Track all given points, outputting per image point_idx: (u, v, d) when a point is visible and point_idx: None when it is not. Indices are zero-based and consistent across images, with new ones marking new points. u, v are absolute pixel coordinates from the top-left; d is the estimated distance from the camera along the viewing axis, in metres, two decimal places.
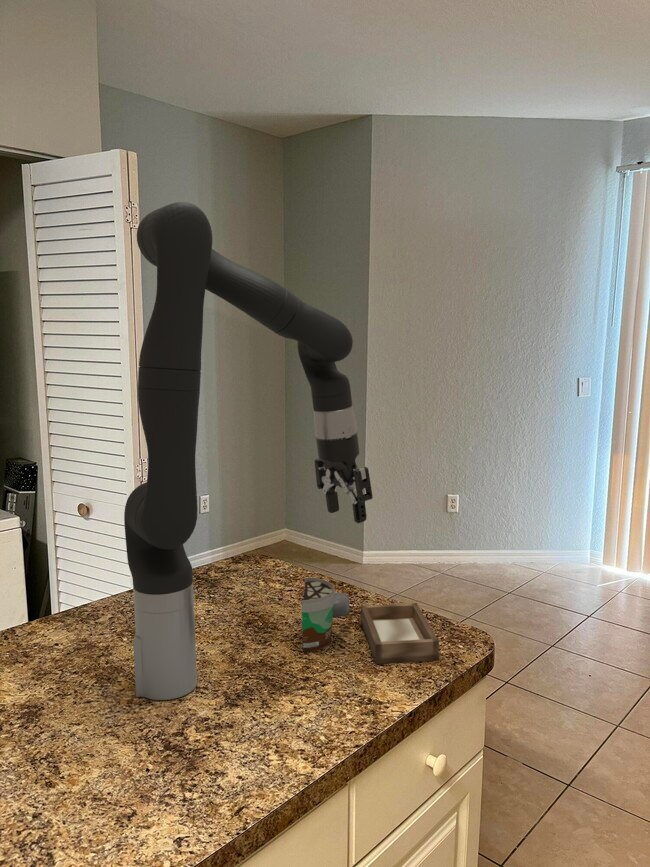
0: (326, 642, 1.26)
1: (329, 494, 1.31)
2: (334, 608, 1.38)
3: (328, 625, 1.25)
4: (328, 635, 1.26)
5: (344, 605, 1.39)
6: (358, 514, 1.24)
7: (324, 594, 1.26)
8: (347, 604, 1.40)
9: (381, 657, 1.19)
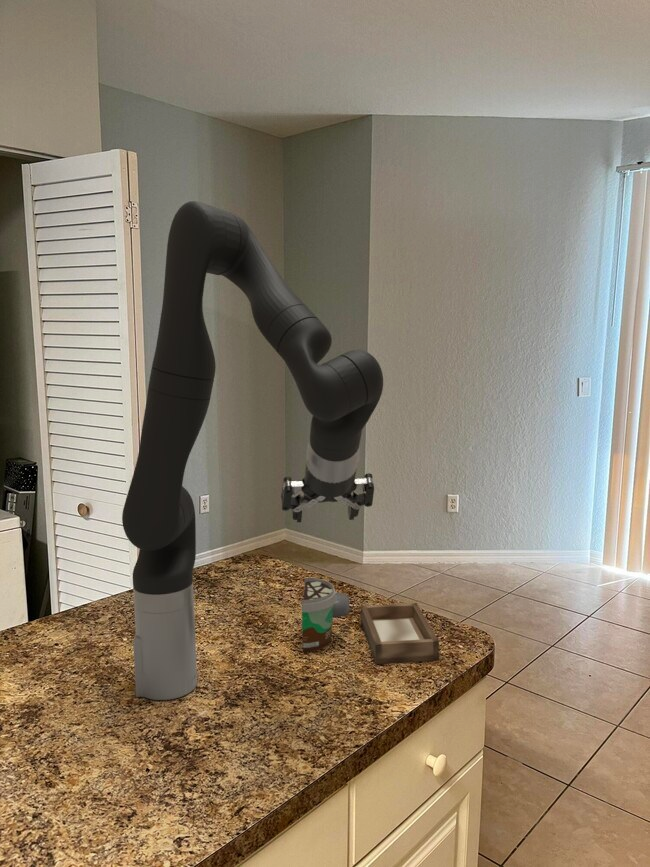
0: (326, 642, 1.26)
1: None
2: (334, 608, 1.38)
3: (328, 625, 1.25)
4: (328, 635, 1.26)
5: (344, 605, 1.39)
6: None
7: (324, 594, 1.26)
8: (347, 604, 1.40)
9: (381, 657, 1.19)
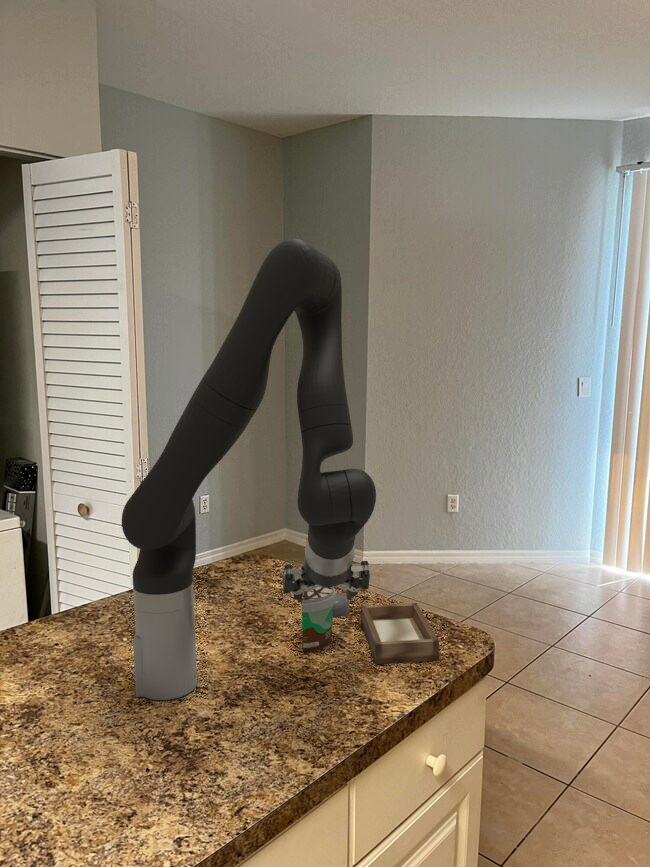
0: (326, 642, 1.26)
1: None
2: (334, 608, 1.38)
3: (328, 625, 1.25)
4: (328, 635, 1.26)
5: (344, 605, 1.39)
6: None
7: (324, 594, 1.26)
8: (347, 604, 1.40)
9: (381, 657, 1.19)
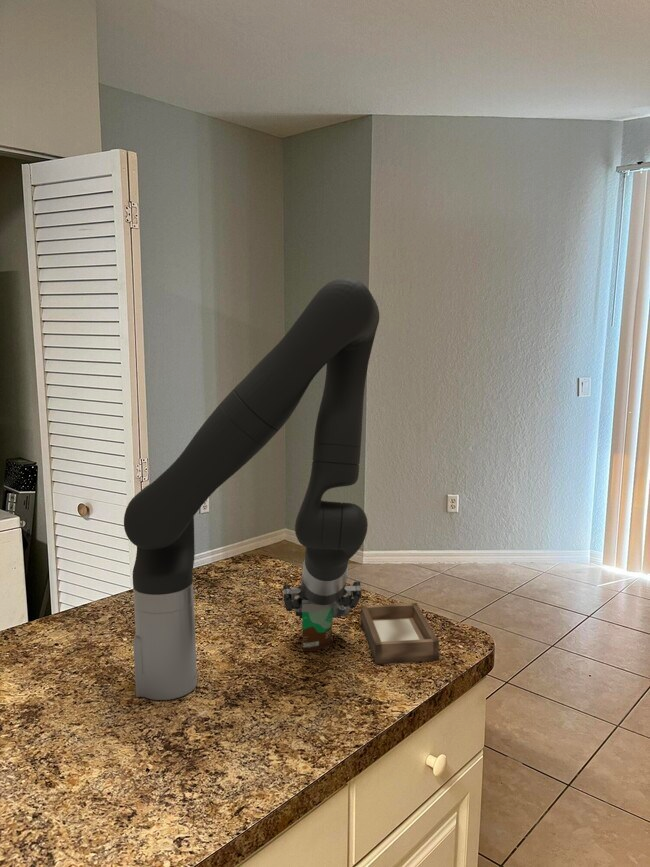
0: (326, 642, 1.26)
1: None
2: (334, 608, 1.38)
3: (328, 625, 1.25)
4: (328, 635, 1.26)
5: None
6: None
7: None
8: None
9: (381, 657, 1.19)
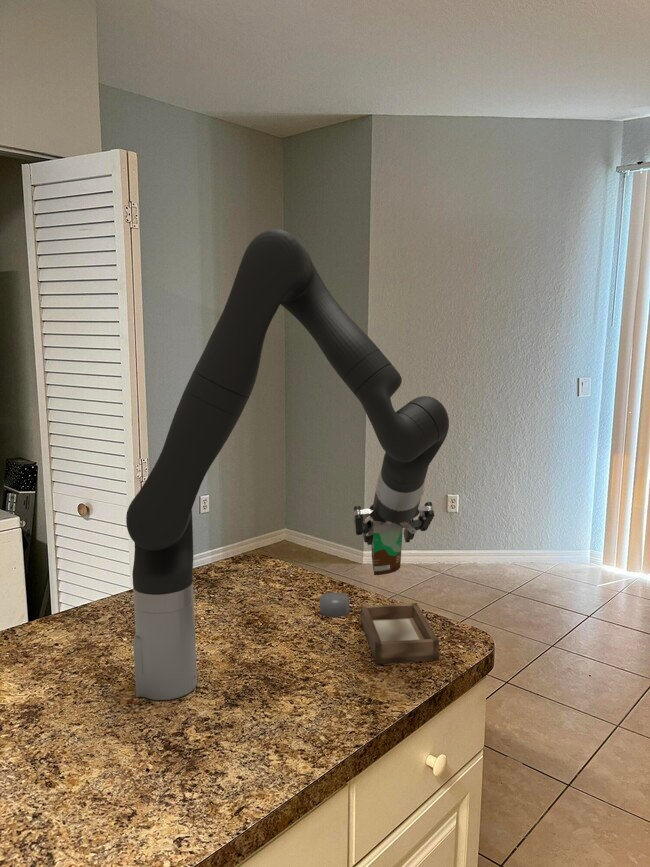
0: (397, 566, 1.23)
1: None
2: (334, 608, 1.38)
3: (399, 549, 1.22)
4: (398, 559, 1.23)
5: (344, 605, 1.39)
6: None
7: None
8: (347, 604, 1.40)
9: (381, 657, 1.19)
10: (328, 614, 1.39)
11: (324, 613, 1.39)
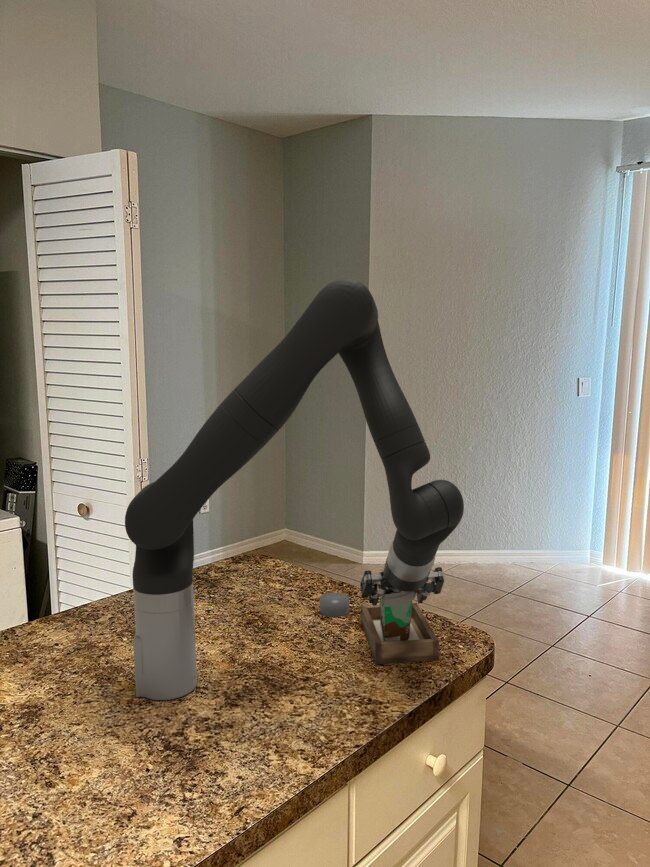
0: (406, 637, 1.24)
1: None
2: (334, 608, 1.38)
3: (408, 619, 1.24)
4: (408, 629, 1.25)
5: (344, 605, 1.39)
6: None
7: None
8: (347, 604, 1.40)
9: (381, 657, 1.19)
10: (328, 614, 1.39)
11: (324, 613, 1.39)
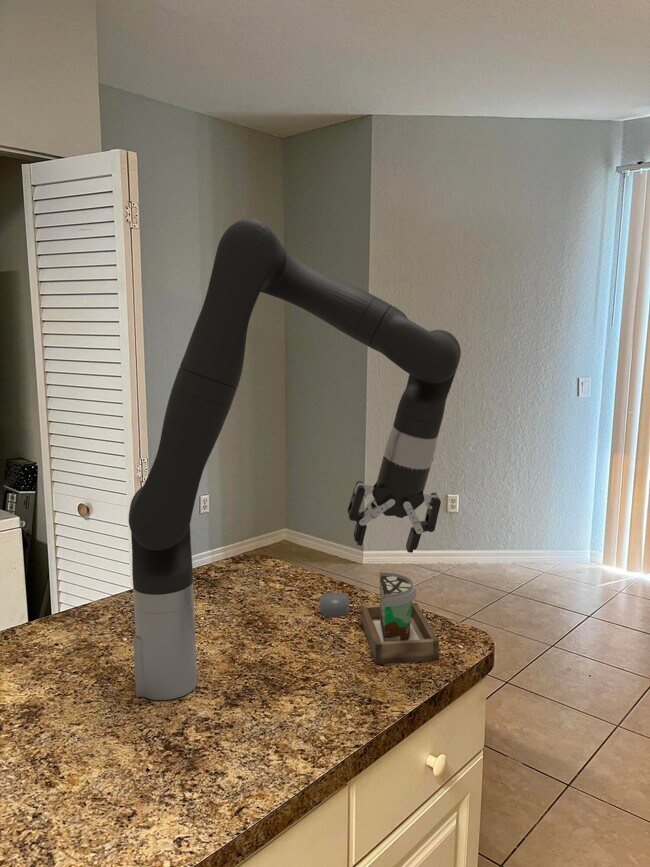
0: (406, 637, 1.24)
1: (412, 528, 1.14)
2: (334, 608, 1.38)
3: (408, 619, 1.24)
4: (408, 630, 1.25)
5: (344, 605, 1.39)
6: None
7: (404, 588, 1.25)
8: (347, 604, 1.40)
9: (381, 657, 1.19)
10: (328, 614, 1.39)
11: (324, 613, 1.39)
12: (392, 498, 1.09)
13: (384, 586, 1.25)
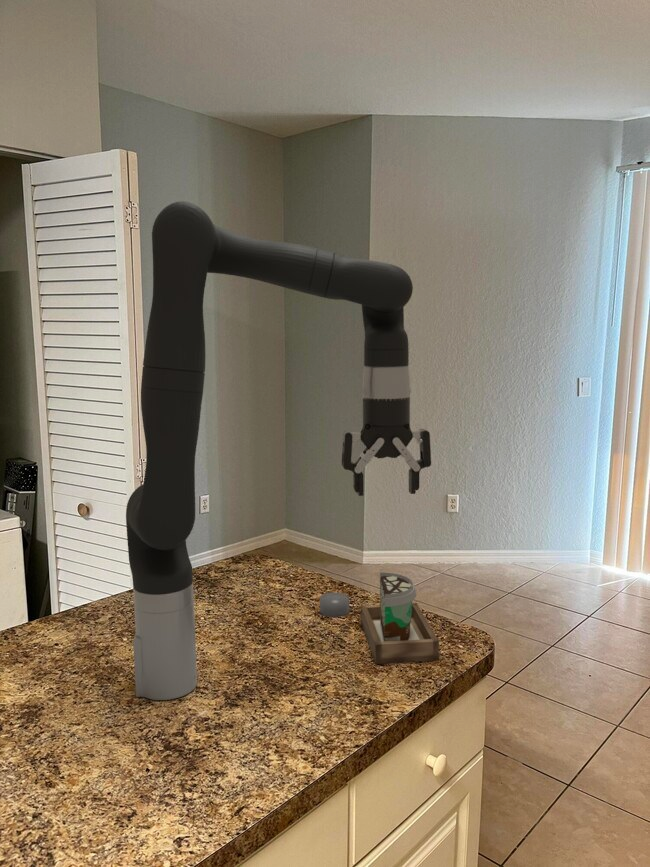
0: (406, 637, 1.24)
1: (410, 470, 1.13)
2: (334, 608, 1.38)
3: (408, 619, 1.24)
4: (408, 630, 1.25)
5: (344, 605, 1.39)
6: None
7: (404, 588, 1.25)
8: (347, 604, 1.40)
9: (381, 657, 1.19)
10: (328, 614, 1.39)
11: (324, 613, 1.39)
12: (380, 437, 1.10)
13: (384, 586, 1.25)
